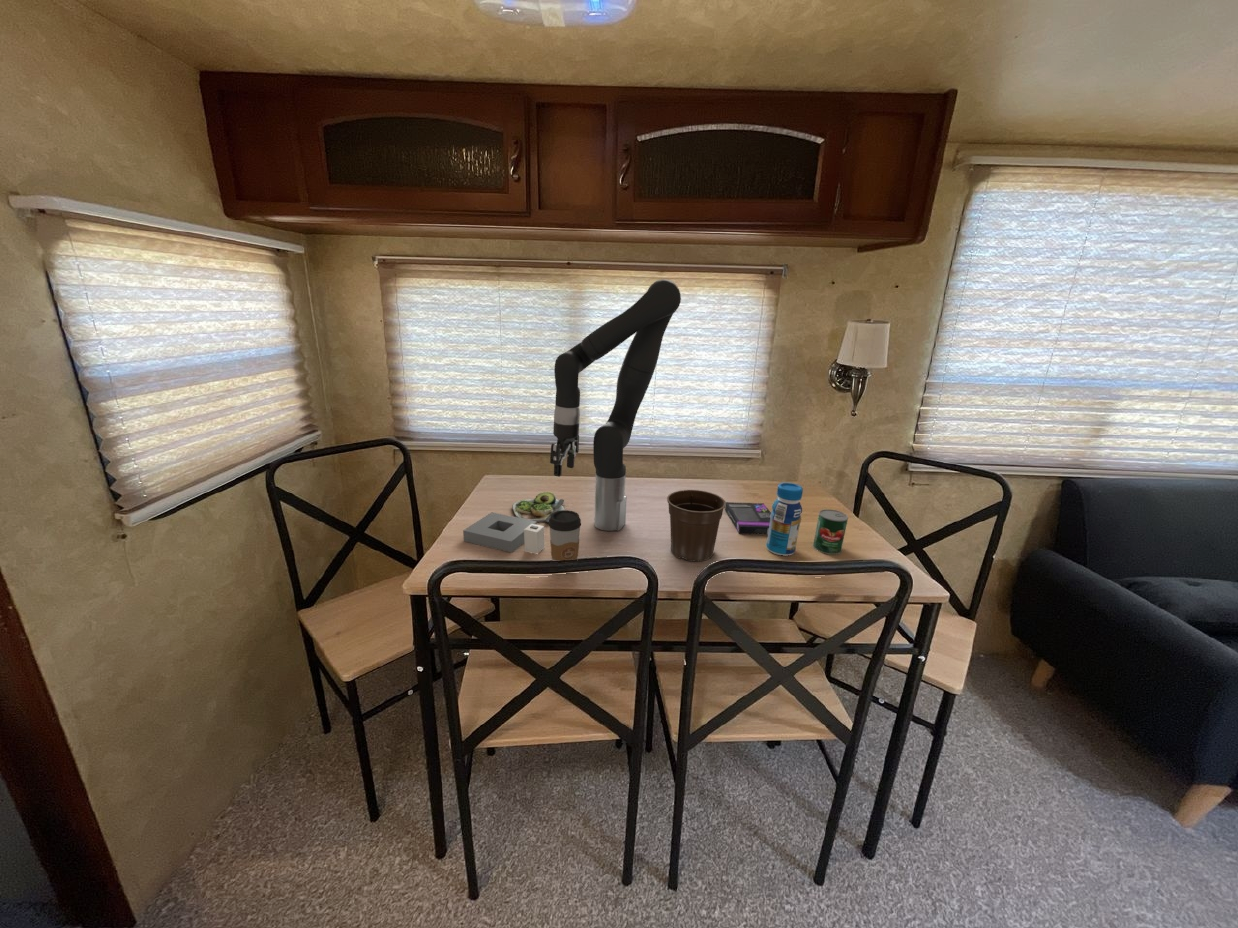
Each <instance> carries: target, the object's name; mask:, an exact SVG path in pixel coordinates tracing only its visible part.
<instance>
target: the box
mask: <svg viewBox="0 0 1238 928" xmlns="http://www.w3.org/2000/svg"><path fill="white" fill-rule="evenodd" d="M725 502H726V506H725V508H724V510H725V513H726V515H727V516H728V517H729V519H730V521H731V523H732V524H733V526H734V528H735V529H736V531H737V533H738V534H739V535H768V532H769V525H770V514H771V512H772V511H770V510H769V508H768V507H767V505H765V503H763V502H762V503H761V502H760V503H759V502H758V503H757V502H732V501H730V502H729V501H725Z"/></svg>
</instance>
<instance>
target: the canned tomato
mask: <svg viewBox="0 0 1238 928" xmlns="http://www.w3.org/2000/svg"><path fill="white" fill-rule="evenodd" d="M848 520H849V516H848V515H847V514H846V513H844V512H842V511H840V510H836V509H831V508H830V509H828V508H826V509H821V510H819V512H818V517H817V522H816V528H815V534H814V538H813V544H812V547H813V548H814V550H816V551H817V550H818V551H817V552H819V551H820V552H819V553H821V552H823V553H822V554H824V553H827V554H826V555H830V554H836V555H839V554H841V553H842V549H843V544H844V539H845V534H846V531H847V530H846V529H847V525H848Z"/></svg>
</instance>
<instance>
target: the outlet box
mask: <svg viewBox="0 0 1238 928" xmlns="http://www.w3.org/2000/svg"><path fill="white" fill-rule="evenodd" d="M527 519H528V518H527ZM527 519H522V518H517V517H516V516H512V515H508V514H502V513H498V512H493V511H492V512H490V513H488V514H487V515H485V516H483V517H481V518H480V519H479V520H477V521H476V522H473V524H470V526H468V527H466V528H465V529H463V530H462V534H463V542H464V543H470V544H473V545H479V546H480V547H481V546H482V547H487V548H490V549H495V550H499V551H502V550H504V551H503V552H506V551H508V552H507V553H511V552H512V553H513V552H515V551H516V550H517V549H518V548H519V547H521V546H522V545H523V544H525V542H524V529H525V528H527V527H528V526H529V525H530V524H536V525H538V524H537V523H538V522H536V521H531V520H527ZM515 549H516V550H515Z"/></svg>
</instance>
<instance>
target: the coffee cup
mask: <svg viewBox="0 0 1238 928" xmlns="http://www.w3.org/2000/svg"><path fill="white" fill-rule="evenodd" d="M581 526H582V519H581V517H580V515H579V513H578V512H576V511H575V510H574V511H573V510H570V509H569V510H566V509H564V510H561V511H557V512H554V513H552V514H551V518H550V519H549V522H548V527H549V536H550V537H549V539H550V553H551V559H552V560H572V559H577V560H578V558H579V557H578V556H579V549H580V531H581ZM552 560H551V561H552Z"/></svg>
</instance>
